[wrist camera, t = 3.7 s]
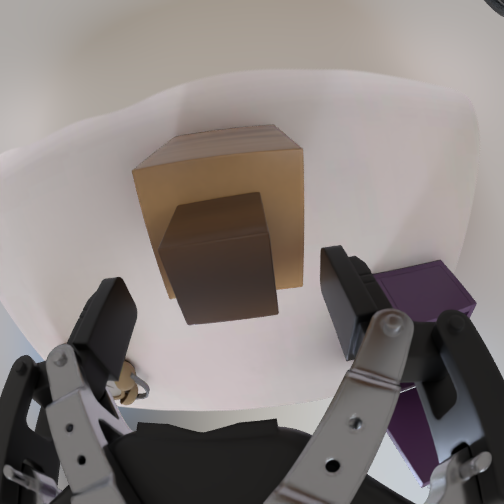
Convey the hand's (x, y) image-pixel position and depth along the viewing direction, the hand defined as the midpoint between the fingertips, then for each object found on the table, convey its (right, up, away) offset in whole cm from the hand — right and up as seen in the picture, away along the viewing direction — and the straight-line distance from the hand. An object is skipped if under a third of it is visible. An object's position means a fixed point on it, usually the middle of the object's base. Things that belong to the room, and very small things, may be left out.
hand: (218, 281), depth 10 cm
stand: (-1, +7, +12) cm, 14 cm away
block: (0, +2, +3) cm, 4 cm away
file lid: (+22, -19, +11) cm, 31 cm away
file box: (+21, -7, +22) cm, 31 cm away
